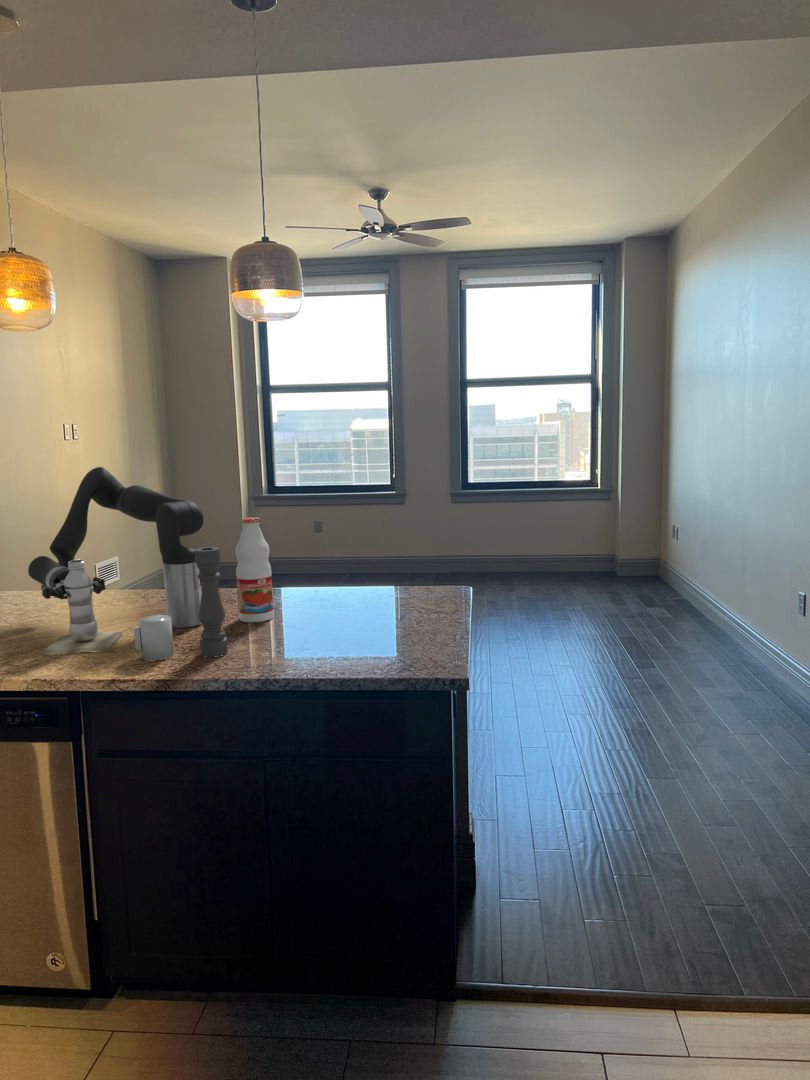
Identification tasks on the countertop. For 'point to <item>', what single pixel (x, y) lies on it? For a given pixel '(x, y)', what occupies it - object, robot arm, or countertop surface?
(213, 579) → the candle holder
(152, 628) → the grey mug
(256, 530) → the fruit juice
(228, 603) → the countertop surface
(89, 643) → the plain beige board
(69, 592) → the plastic bottle
